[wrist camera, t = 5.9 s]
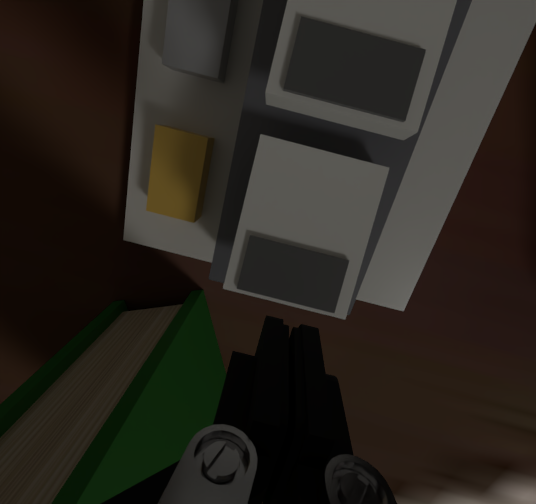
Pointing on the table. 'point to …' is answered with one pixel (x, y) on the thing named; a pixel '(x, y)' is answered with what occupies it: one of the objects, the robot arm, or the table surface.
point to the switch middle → (359, 61)
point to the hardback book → (111, 405)
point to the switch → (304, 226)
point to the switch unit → (299, 132)
